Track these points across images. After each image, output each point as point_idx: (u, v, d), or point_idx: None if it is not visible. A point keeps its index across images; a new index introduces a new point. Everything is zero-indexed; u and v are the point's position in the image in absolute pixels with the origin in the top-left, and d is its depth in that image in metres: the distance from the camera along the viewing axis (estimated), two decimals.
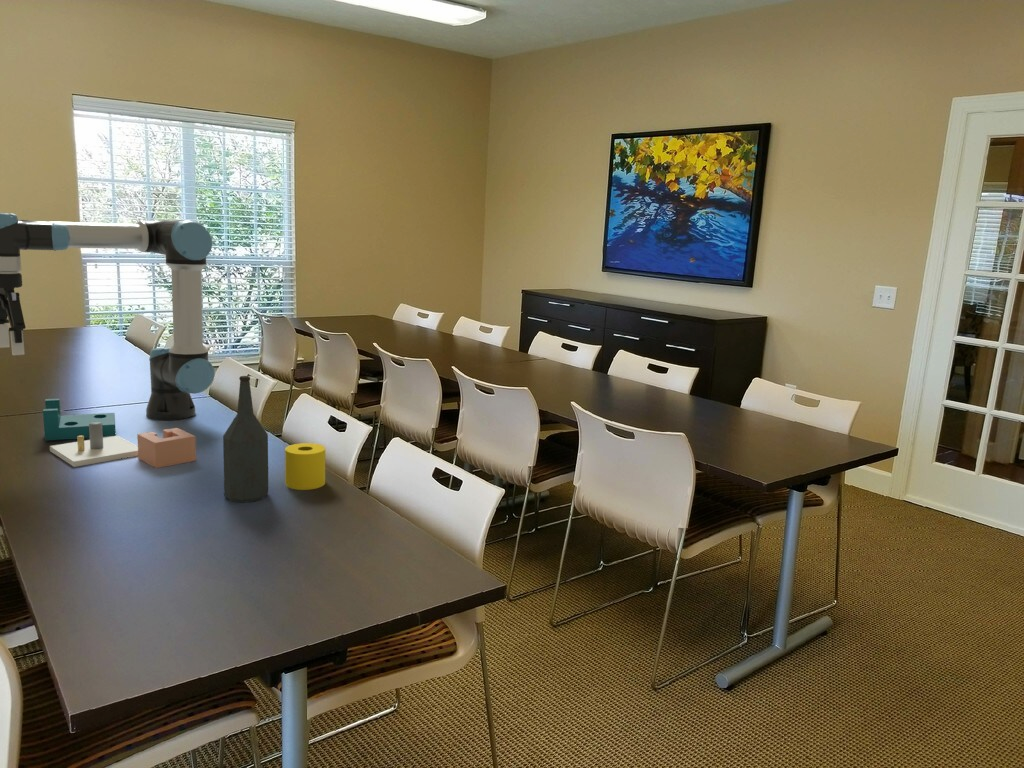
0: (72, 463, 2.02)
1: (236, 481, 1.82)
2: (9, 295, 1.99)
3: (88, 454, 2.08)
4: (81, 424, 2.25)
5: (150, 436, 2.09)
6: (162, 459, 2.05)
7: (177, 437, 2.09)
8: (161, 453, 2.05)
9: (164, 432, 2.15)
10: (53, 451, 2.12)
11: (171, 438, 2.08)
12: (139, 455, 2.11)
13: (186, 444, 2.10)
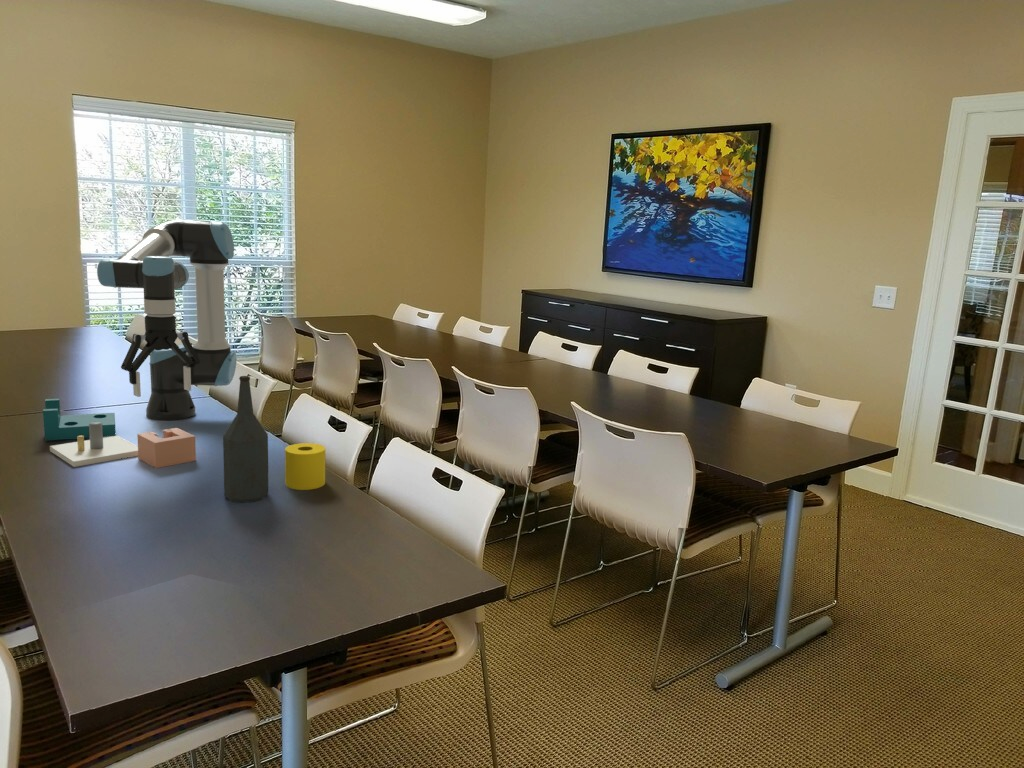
0: (72, 463, 2.02)
1: (236, 481, 1.82)
2: (133, 336, 2.01)
3: (88, 454, 2.08)
4: (81, 424, 2.25)
5: (150, 436, 2.09)
6: (162, 459, 2.05)
7: (177, 437, 2.09)
8: (161, 453, 2.05)
9: (164, 432, 2.15)
10: (53, 451, 2.12)
11: (171, 438, 2.08)
12: (139, 455, 2.11)
13: (186, 444, 2.10)
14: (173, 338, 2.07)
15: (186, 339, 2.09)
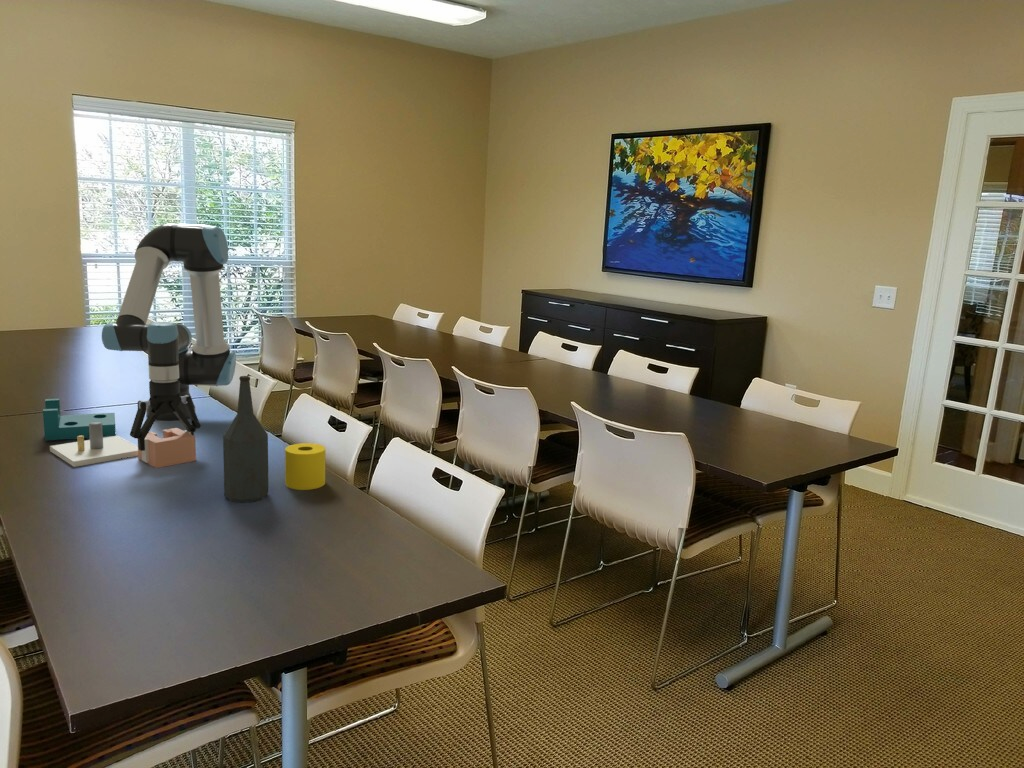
0: (72, 463, 2.02)
1: (236, 481, 1.82)
2: None
3: (88, 454, 2.08)
4: (81, 424, 2.25)
5: (150, 436, 2.09)
6: (162, 459, 2.05)
7: (177, 437, 2.09)
8: (161, 453, 2.05)
9: (164, 432, 2.15)
10: (53, 451, 2.12)
11: (171, 438, 2.08)
12: (139, 455, 2.11)
13: (186, 444, 2.10)
14: (177, 402, 2.10)
15: (189, 403, 2.13)
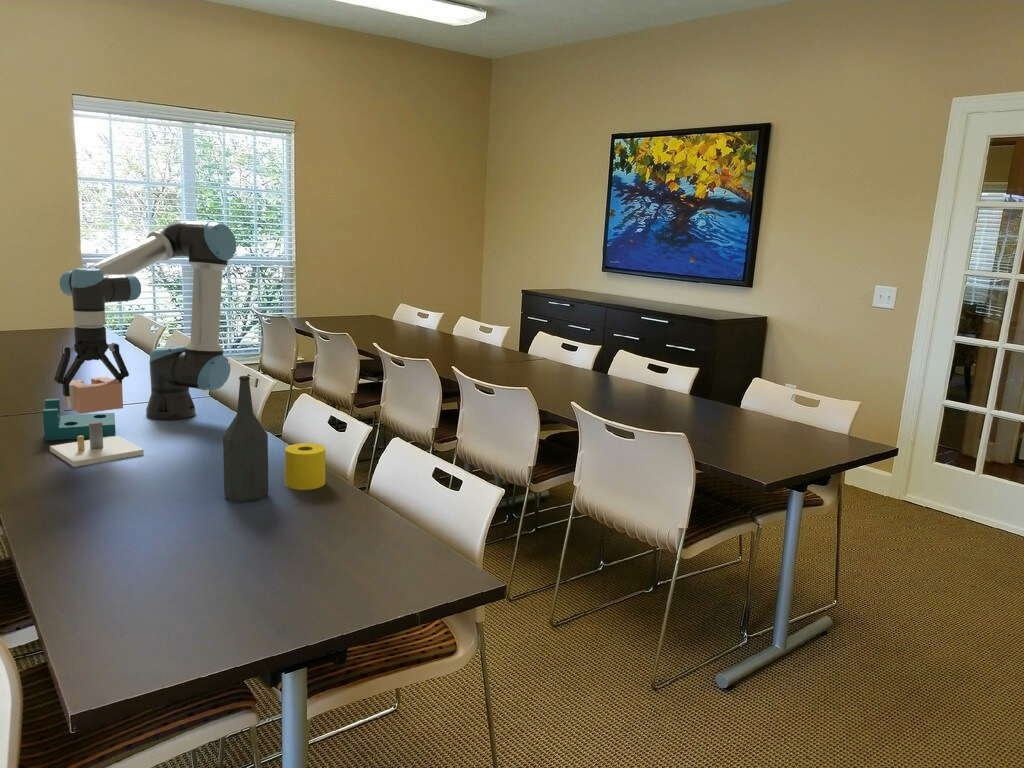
0: (72, 463, 2.02)
1: (236, 481, 1.82)
2: (62, 348, 2.04)
3: (88, 454, 2.08)
4: (81, 424, 2.25)
5: (76, 383, 2.08)
6: (87, 405, 2.05)
7: (103, 384, 2.08)
8: (85, 399, 2.04)
9: (92, 380, 2.14)
10: (53, 451, 2.12)
11: (97, 384, 2.07)
12: (65, 402, 2.10)
13: (112, 391, 2.09)
14: (103, 349, 2.10)
15: (117, 351, 2.12)
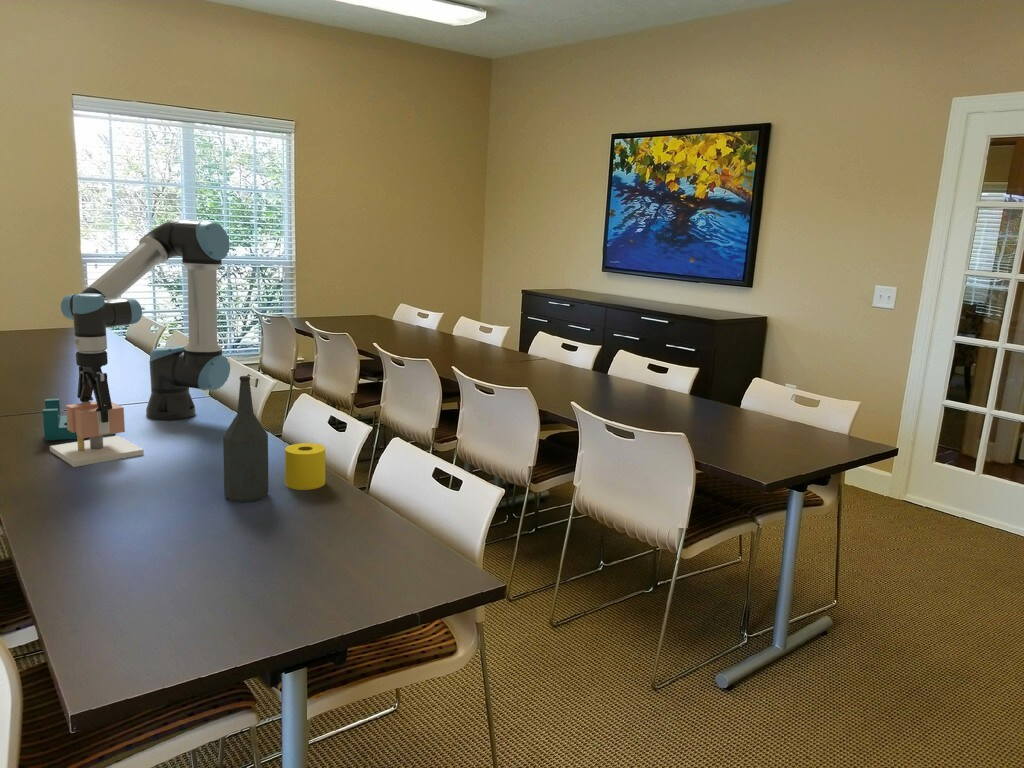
0: (72, 463, 2.02)
1: (236, 481, 1.82)
2: (98, 376, 2.05)
3: (88, 454, 2.08)
4: None
5: None
6: None
7: None
8: None
9: (74, 409, 2.09)
10: (53, 451, 2.12)
11: None
12: (85, 434, 2.06)
13: None
14: None
15: None
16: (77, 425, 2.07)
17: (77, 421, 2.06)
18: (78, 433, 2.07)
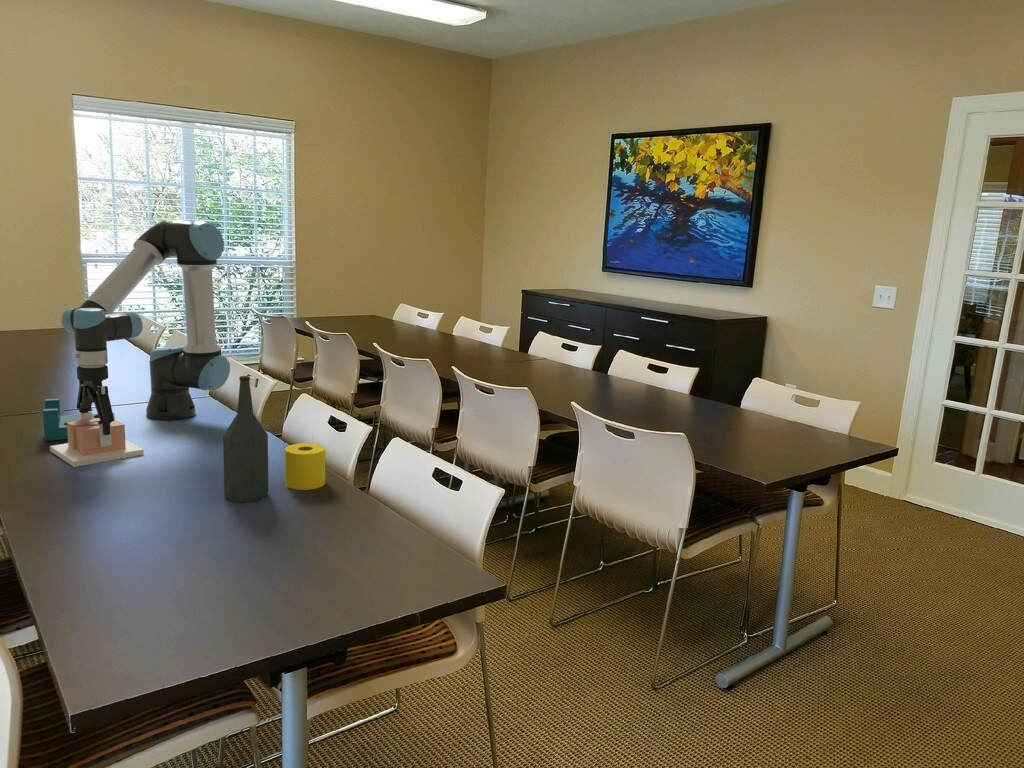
0: (72, 463, 2.02)
1: (236, 481, 1.82)
2: (99, 389, 2.05)
3: None
4: None
5: (97, 426, 2.09)
6: None
7: None
8: None
9: (75, 426, 2.10)
10: (53, 451, 2.12)
11: None
12: (86, 451, 2.07)
13: None
14: None
15: None
16: (78, 443, 2.08)
17: (78, 439, 2.07)
18: (79, 450, 2.08)
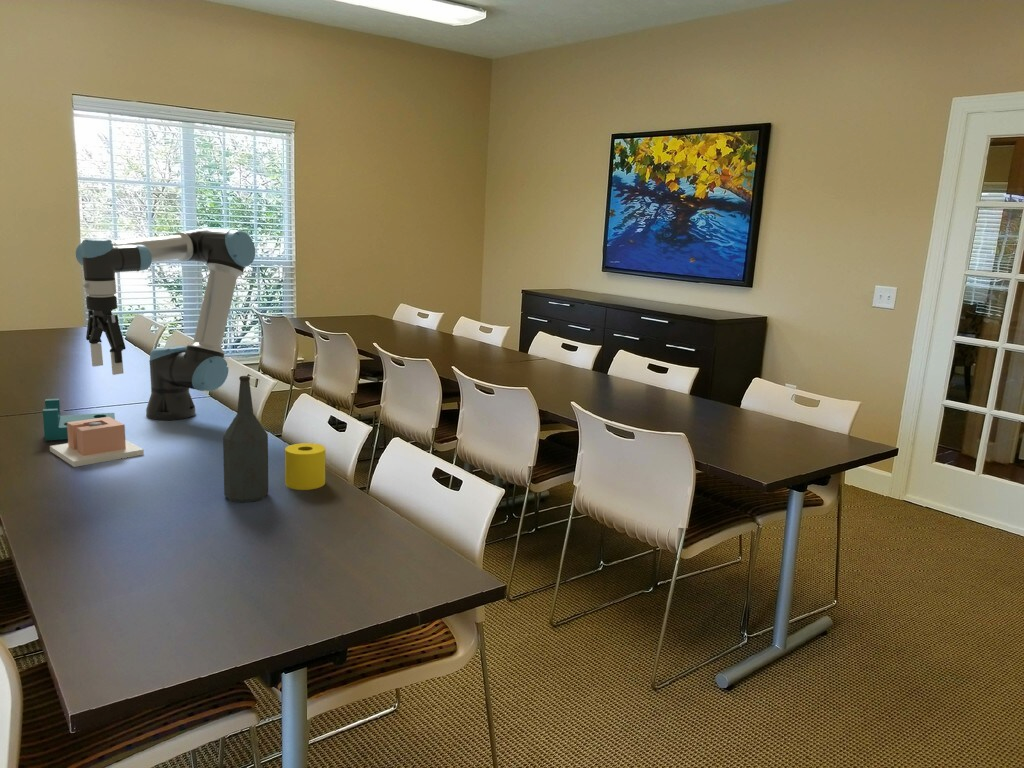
0: (72, 463, 2.02)
1: (236, 481, 1.82)
2: (109, 318, 2.09)
3: None
4: None
5: (97, 426, 2.09)
6: None
7: (109, 420, 2.16)
8: None
9: (75, 426, 2.10)
10: (53, 451, 2.12)
11: (111, 421, 2.15)
12: (86, 451, 2.07)
13: None
14: None
15: None
16: (78, 443, 2.08)
17: (78, 439, 2.07)
18: (79, 450, 2.08)
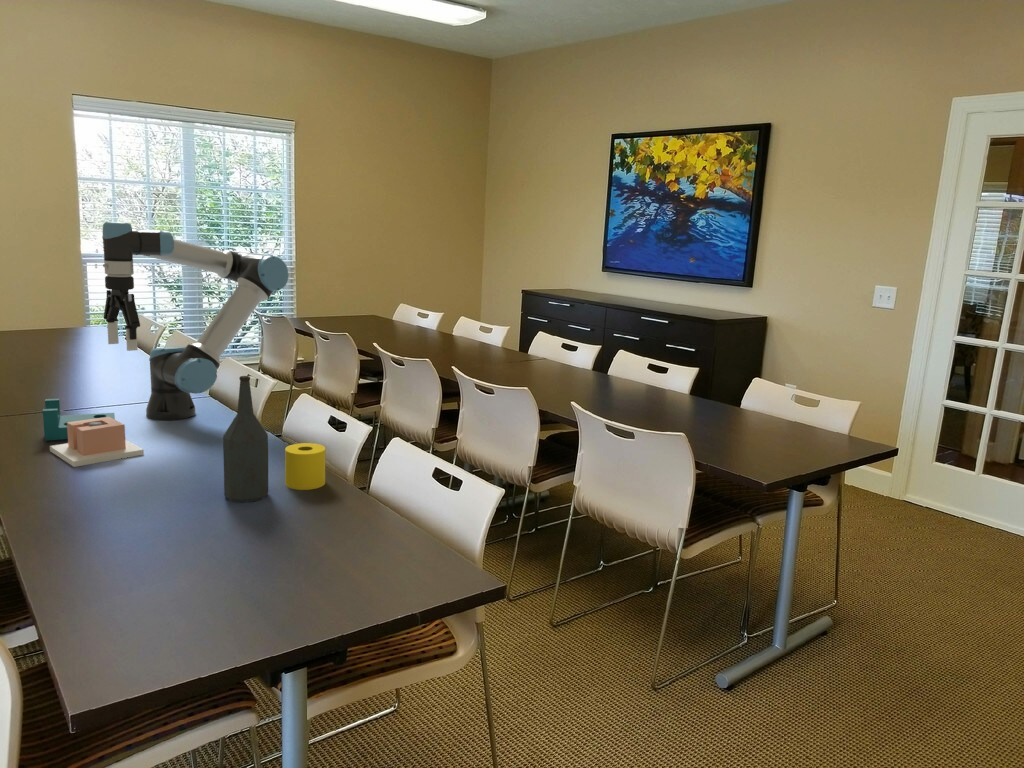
0: (72, 463, 2.02)
1: (236, 481, 1.82)
2: (126, 296, 2.21)
3: None
4: None
5: (97, 426, 2.09)
6: None
7: (109, 420, 2.16)
8: None
9: (75, 426, 2.10)
10: (53, 451, 2.12)
11: (111, 421, 2.15)
12: (86, 451, 2.07)
13: None
14: None
15: None
16: (78, 443, 2.08)
17: (78, 439, 2.07)
18: (79, 450, 2.08)
